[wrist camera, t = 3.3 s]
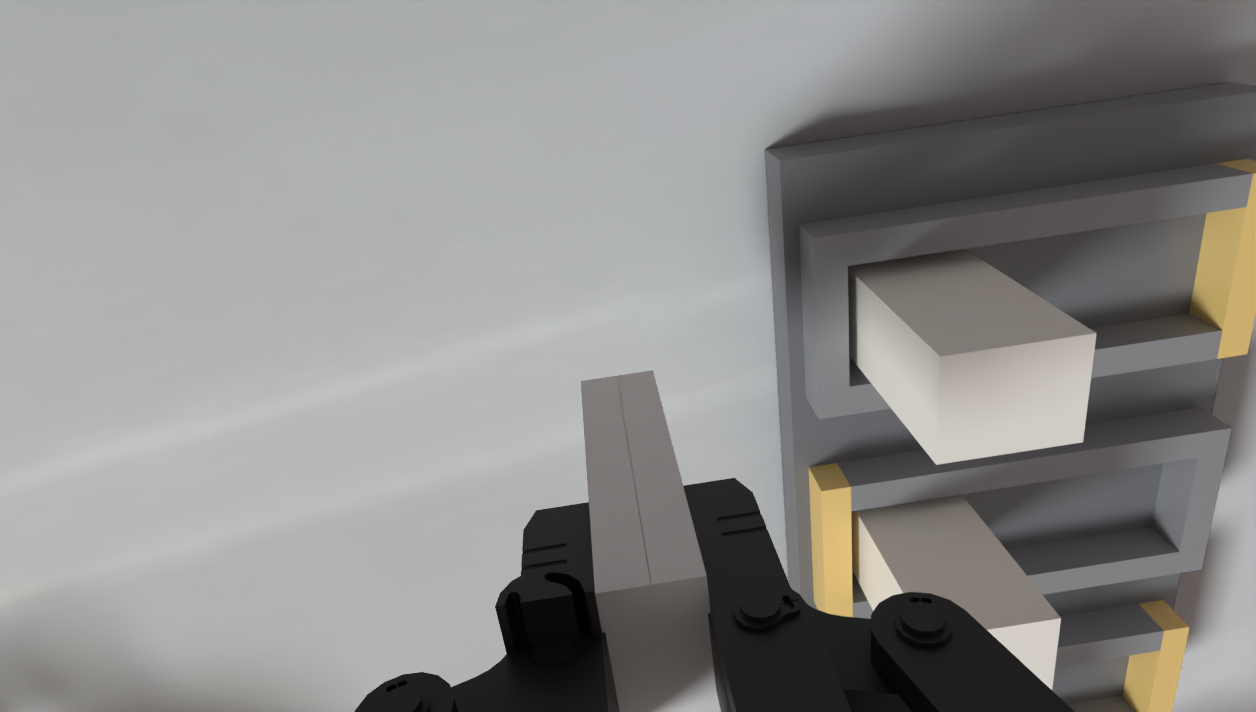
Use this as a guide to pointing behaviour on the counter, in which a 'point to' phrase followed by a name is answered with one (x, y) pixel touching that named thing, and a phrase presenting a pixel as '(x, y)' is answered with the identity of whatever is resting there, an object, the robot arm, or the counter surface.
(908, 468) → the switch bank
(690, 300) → the counter surface
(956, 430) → the tab
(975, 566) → the tab
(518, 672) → the robot arm
